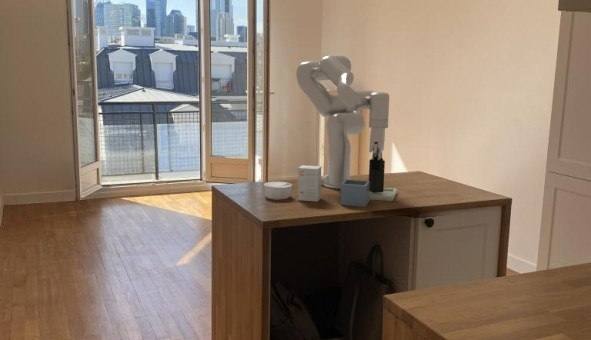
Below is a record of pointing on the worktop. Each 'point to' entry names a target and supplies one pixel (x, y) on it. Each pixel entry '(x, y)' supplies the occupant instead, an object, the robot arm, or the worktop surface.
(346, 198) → the holder
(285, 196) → the ramekin
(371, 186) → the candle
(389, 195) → the tray
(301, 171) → the small box
